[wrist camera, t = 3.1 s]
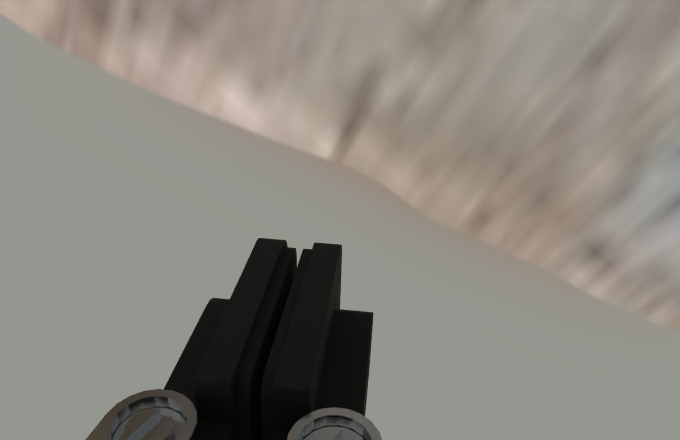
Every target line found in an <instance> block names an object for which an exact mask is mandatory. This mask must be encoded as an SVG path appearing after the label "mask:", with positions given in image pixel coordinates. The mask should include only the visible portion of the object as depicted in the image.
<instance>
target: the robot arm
mask: <svg viewBox="0 0 680 440" xmlns="http://www.w3.org/2000/svg"><path fill="white" fill-rule="evenodd" d="M296 255H297V254H296V248H288V247H287V242H286V240H276V239H265V238H259V239H258V240H257V242H256V244H255V246H254V248H253V250H252V252H251V255H250V257H249V259H248V261H247V263H246V265H245V268H244V270H243V272H242V274H241V276H240V279H239V281H238V283H237V285H236V287H235V289H234V291H233V294H232V296H231V298H230V299H219V298H212V299H211V300H210V301H209V303H208V304H207V306H206V308H205V310H204V312H203V313H202V315H201V318H200V319H199V322H198V323H197V325H196V327H195V329H194V331H193V333H192V335H191V337H190V339H189V341H188V343H187V345H186V347H185V349H184V351H183V353H182V354H181V356H180V358H179V361H178V362H177V364H176V366H175V368H174V370H173V372H172V374H171V376H170V378H169V380H168V382H167V384H166V386H165V388H164V390H163V389H156V390H148V391H143V392H140V393H137V394H134V395H132V396H129V397H127V398H126V399H124V400H122V401H121V402H119V403H117V404H116V405H115V406H114V407H113V408H112V409H111V410H110V411H109V412H108V413H107V414H106V415H105V416H104V418H103V419H102V420H101V421H100V423H99V424H98V425H97V426H96V428H95V429H94V430H93V431H92V432H91V434H90V435H89V436H88V438H87V439H86V440H382V438H381V436H380V432H379V431H378V429H377V428H376V427H375V426H374V424H373V423H372V422H371V421H370V420H369V419H367V418H366V417H365V409H366V399H367V388H368V378H369V366H370V353H371V340H372V325H373V312H362V311H350V310H340V291H341V262H342V245H338V244H326V243H314V245H313V248H312V249H303V251H302V254H301V257H300V260H299V264H298V267H297V256H296Z"/></svg>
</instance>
